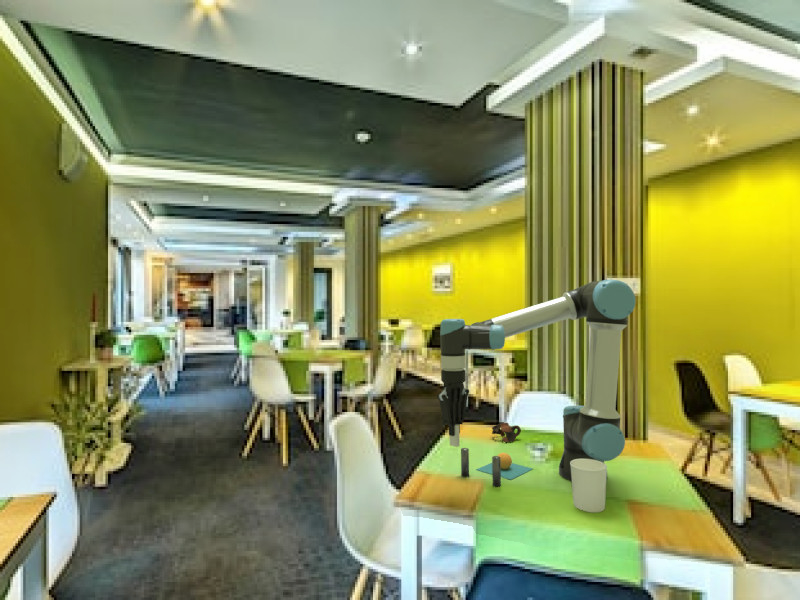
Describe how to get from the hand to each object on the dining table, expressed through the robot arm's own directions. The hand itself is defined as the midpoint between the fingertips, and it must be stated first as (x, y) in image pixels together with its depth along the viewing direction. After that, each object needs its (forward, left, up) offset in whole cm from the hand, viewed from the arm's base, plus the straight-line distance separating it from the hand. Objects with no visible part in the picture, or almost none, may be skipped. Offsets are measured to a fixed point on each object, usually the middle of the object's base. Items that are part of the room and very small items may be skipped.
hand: (454, 445), depth 148 cm
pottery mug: (+19, -58, -15) cm, 63 cm away
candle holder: (-34, -18, -15) cm, 41 cm away
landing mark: (0, -27, -14) cm, 31 cm away
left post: (+6, -13, -14) cm, 20 cm away
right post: (-6, -13, -14) cm, 20 cm away
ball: (+1, -28, -12) cm, 30 cm away
